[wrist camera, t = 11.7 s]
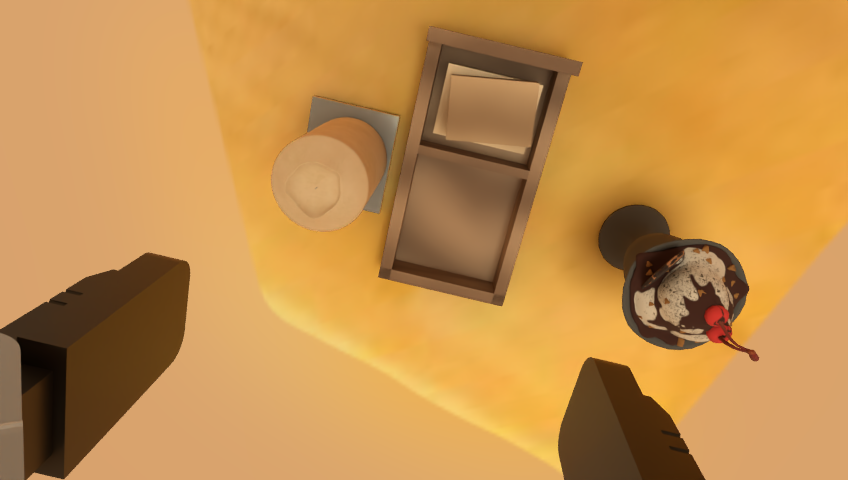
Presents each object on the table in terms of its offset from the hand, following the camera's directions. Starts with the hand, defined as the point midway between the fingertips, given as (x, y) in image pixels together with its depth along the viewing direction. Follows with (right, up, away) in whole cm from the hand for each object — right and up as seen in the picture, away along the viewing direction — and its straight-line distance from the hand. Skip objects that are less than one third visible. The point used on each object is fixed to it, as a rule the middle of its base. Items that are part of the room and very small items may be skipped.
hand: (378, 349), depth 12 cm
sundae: (+16, +2, +30) cm, 34 cm away
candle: (-4, +8, +29) cm, 30 cm away
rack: (+4, +7, +29) cm, 30 cm away
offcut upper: (+5, +10, +25) cm, 28 cm away
